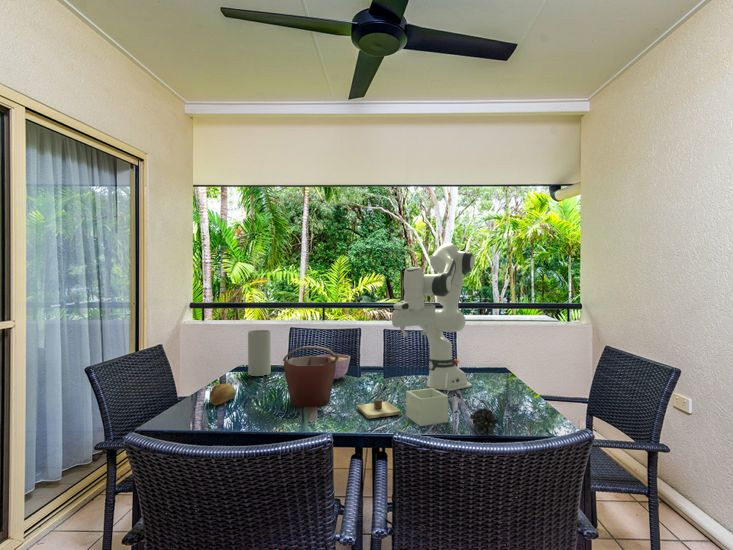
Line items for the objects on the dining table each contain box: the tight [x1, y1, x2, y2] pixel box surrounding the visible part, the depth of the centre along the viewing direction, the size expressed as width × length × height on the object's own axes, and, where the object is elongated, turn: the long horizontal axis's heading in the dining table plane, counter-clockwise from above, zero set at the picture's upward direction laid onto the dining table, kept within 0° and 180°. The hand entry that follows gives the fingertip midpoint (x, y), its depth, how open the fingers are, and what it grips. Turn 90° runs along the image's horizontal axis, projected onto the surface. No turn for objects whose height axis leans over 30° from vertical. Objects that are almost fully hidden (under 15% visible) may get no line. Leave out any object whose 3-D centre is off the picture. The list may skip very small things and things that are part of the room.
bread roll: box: [209, 383, 237, 406], centre depth 186 cm, size 10×15×8 cm, turn 171°
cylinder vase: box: [247, 329, 272, 377], centre depth 237 cm, size 12×12×25 cm
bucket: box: [282, 345, 339, 409], centre depth 183 cm, size 24×22×25 cm
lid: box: [356, 398, 402, 419], centre depth 169 cm, size 14×14×5 cm
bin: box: [405, 387, 449, 427], centre depth 161 cm, size 12×12×10 cm
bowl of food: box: [318, 353, 351, 380], centre depth 227 cm, size 20×20×12 cm
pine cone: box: [469, 408, 499, 434], centre depth 150 cm, size 9×8×15 cm
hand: (414, 335), depth 179 cm, fingers open, 8 cm apart
